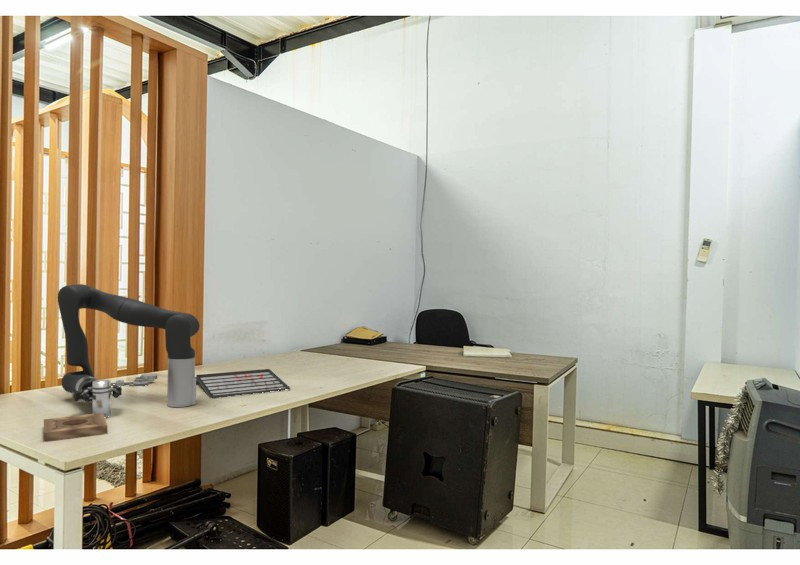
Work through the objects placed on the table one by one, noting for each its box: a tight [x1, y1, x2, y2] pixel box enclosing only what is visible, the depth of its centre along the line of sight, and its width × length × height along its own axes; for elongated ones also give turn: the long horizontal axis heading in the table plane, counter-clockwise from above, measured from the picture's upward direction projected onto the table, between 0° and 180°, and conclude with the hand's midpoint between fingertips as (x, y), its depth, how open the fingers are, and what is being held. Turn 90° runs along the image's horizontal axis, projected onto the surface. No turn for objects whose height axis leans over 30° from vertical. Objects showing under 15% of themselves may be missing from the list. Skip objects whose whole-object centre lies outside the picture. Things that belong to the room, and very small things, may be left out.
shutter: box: [195, 368, 291, 399], centre depth 230 cm, size 32×7×31 cm
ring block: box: [43, 413, 108, 442], centre depth 165 cm, size 16×16×2 cm
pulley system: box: [110, 373, 158, 387], centre depth 231 cm, size 27×5×15 cm
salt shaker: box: [91, 378, 112, 418], centre depth 180 cm, size 5×5×12 cm
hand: (103, 396), depth 179 cm, fingers open, 8 cm apart
